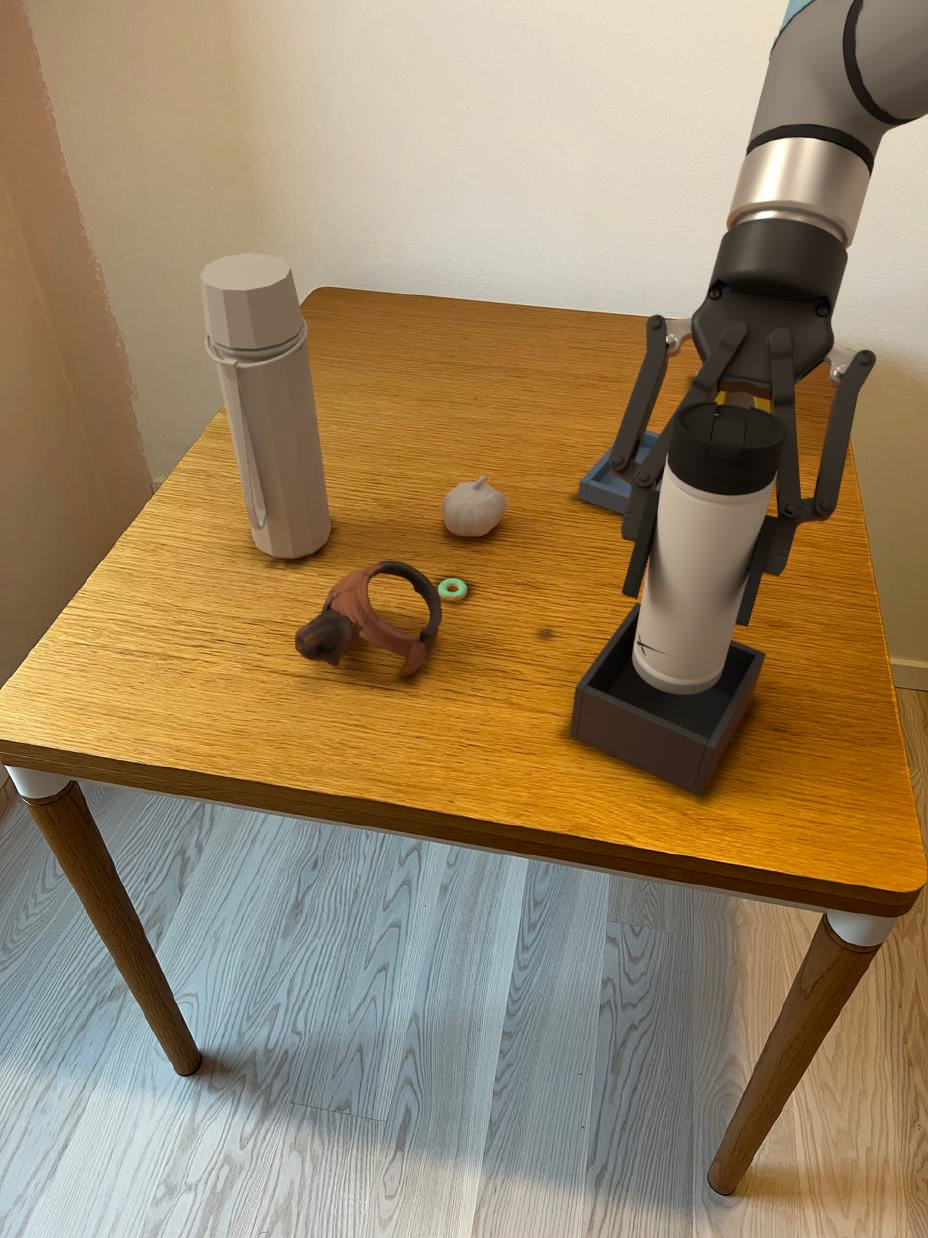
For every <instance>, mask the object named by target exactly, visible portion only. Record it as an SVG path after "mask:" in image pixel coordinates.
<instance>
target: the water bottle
mask: <svg viewBox="0 0 928 1238" xmlns="http://www.w3.org/2000/svg"><path fill="white" fill-rule="evenodd" d="M199 277H200V287H201V297H202V305H203V306H202V307H203V314H204V315H203V316H204V325H205V331H206V333H205V337H204V340H203V341H204V343H203V344H204V346H205V347H204V348H205V350H206V353H207V354H208V356H210V358H211V359H212V360H213V361H214V362H215V365H216V370H217V374H218V379H219V383H220V389H221V393H222V398H223V403H224V408H225V412H226V416H227V422H228V426H229V431H230V436H231V441H232V446H233V450H234V455H235V460H236V465H237V470H238V474H239V479H240V485H241V489H242V494H243V499H244V505H245V510H246V513H247V517H248V522H249V527H250V531H251V537H252V539H253V541H254V543H255V545H256V547H257V549H258V550H259V551H261V552H263V553H264V554H267V555H270V556H271V557H274V558H276V559H289V560H296V559H300V558H303V557H307V556H309V555H310V556H311V555H313V554H314V553H315V552H317V551H318V550H320V548H322V547H323V546H324V545H325V544H326V543H328V540H329V537H330V534H331V531H332V523H331V514H330V508H329V501H328V500H329V499H328V492H327V486H326V485H327V483H326V477H325V470H324V462H323V455H322V447H321V439H320V432H319V425H318V424H319V423H318V416H317V408H316V401H315V394H314V385H313V378H312V370H311V365H310V364H311V363H310V355H309V348H308V341H307V336H308V330H309V326H308V324H307V321H306V319H305V317H304V316H303V313H302V309H301V305H300V301H299V297H298V293H297V289H296V285H295V281H294V276H293V271H292V268H291V266H290V265H289V263H288V262H287V260H285V258H282V257H279V256H276V255H272V254H270V253H253V252H252V253H251V252H245V253H240V254H233V255H228V256H227V255H226V256H222V257H220V258H219V259H217V260H215V261H211V262H210V263H208V264H206V265H205V267H204V268H203V270H201V272H200V274H199ZM210 340H211V342H212V348H211V344H210Z"/></svg>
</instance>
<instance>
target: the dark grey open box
mask: <svg viewBox="0 0 928 1238" xmlns="http://www.w3.org/2000/svg"><path fill="white" fill-rule="evenodd" d="M640 607H641V602H640V603H639V602H636V603H635V604H634V605H633V607H632V608H631V609H630V611H629V612H628V614H627V615H626V616H625V618H624V619H623V621H622V622H621V623H620V624H619V626H618V627H617V629H616V630H615V632H614V633H613V635H612V636H611V637H610V638H609V640H608V641H607V642H606V644H605V645H604V646H603V648H602V650H601V651H600V652H599V654H598V655H597V657H595V659H594V661H593V662H592V663H591V664H590V666H589V668H588V669H587V670H586V672H584V674H583V676H582V677H581V679H580V680H579V682H578V683H577V684H576V686H575V690H574V698H573V705H572V714H571V722H570V730H569V736H570V737H572V738H574V739H576V740H579V741H581V742H582V743H585V744H586V745H589V746H591V747H594V748H595V749H597V750H599V751H602V752H604V753H606V754H607V755H611V756H612V757H614V758H617V759H619V760H621V761H623V762H625V763H626V764H630V765H632V766H634V767H636V768H638V769H641V770H642V771H643V772H647V773H649V774H651V775H653V776H655V777H658V778H660V779H662V780H664V781H666V782H668V783H670V784H672V785H674V786H677V787H679V788H681V789H683V790H684V791H687V792H689V793H691V794H693V795H696V796H698V797H701V796H702V795H703V793H704V791H705V789H706V787H707V785H708V783H709V782H710V779H711V778H712V776H713V774H714V772H715V770H716V768H717V766H718V764H719V763H720V761H721V758H722V757H723V755H724V753H725V751H726V749H727V747H728V745H729V744H730V742H731V740H732V738H733V736H734V734H735V732H736V730H737V729H738V727H739V725H740V723H741V721H742V720H743V717H744V715H745V713H746V712H747V709H748V708H749V706H750V704H751V702H752V699H753V696H754V692H755V689H756V686H757V684H758V680H759V677H760V675H761V671H762V668H763V666H764V663H765V660H766V656H767V653H766V652H764V651H761V650H758V649H756V648H753V647H751V646H748V645H746V644H743V643H741V642H738V641H737V640H733V639H731V642H730V645H729V649H728V652H727V656H726V660H725V663H724V667H723V671H722V674H721V677H720V678H719V680H718V681H717V683H715V684H714V685H713V686H712V687H711V688H709V689H707V690H705V691H703V692H700V693H696V694H690V695H679V694H672V693H668V692H664V691H661V690H659V689H657V688H655V687H653V686H651V685H650V684H648V683H647V682H646V681H645V680H644V679H643V678H641V676H640V675H639V674H638V672H637V671H636V669H635V667H634V665H633V660H632V654H633V647H634V642H635V637H636V630H637V624H638V619H639V613H640Z"/></svg>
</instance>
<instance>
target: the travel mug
mask: <svg viewBox="0 0 928 1238" xmlns="http://www.w3.org/2000/svg"><path fill="white" fill-rule="evenodd" d="M717 402H718V401H703V402H697V403H693V404H689V405H687V406H684V407H682V408H681V409H680V410H679V411H677V413H676V415H675V417H674V423H673V428H672V434H671V440H670V447H669V451H668V454H667V457H666V466H665V469H664V474H663V480H662V486H661V492H660V498H659V505H658V511H657V517H656V522H655V528H654V534H653V540H652V545H651V551H650V555H649V559H648V562H647V566H646V571H645V579H644V585H643V589H642V596H641V602H640V604H641V607H640V613H639V619H638V624H637V630H636V637H635V642H634V647H633V654H632V660H633V665H634V667H635V669H636V671H637V672H638V674H639V675H640V676H641V678H643V679H644V680H645V681H646V682H647V683H648V684H650V685H651V686H653V687H655V688H657V689H659V690H661V691H664V692H668V693H672V694H679V695H690V694H696V693H700V692H703V691H705V690H707V689H709V688H711V687H712V686H713V685H714V684H715V683H717V681H718V680H719V678H720V677H721V674H722V671H723V667H724V663H725V660H726V656H727V652H728V649H729V645H730V642H731V640H732V638H733V634H734V630H735V627H736V624H735V622H736V618H737V615H738V611H739V607H740V604H741V600H742V596H743V593H744V589H745V586H746V582H747V578H748V575H749V571H750V567H751V564H752V560H753V557H754V553H755V549H756V546H757V542H758V539H759V535H760V531H761V528H762V524H763V521H764V518H765V515H767V511H768V509H769V504H770V500H771V496H772V495H773V494H772V493H773V489H774V487H775V485H774V484H775V479H776V476H777V468H778V463H779V461H780V457H781V454H782V450H783V446H784V443H785V439H786V435H787V429H786V427H785V425H784V423H783V422H782V421H781V420H780V419H778V418H777V417H776V416H774V415H772V414H771V413H769V412H767V411H765V410H762V409H758V408H755V407H752V406H750V408H749V409H746V408H744V407H739V406H734V405H724V404H721V405H717Z"/></svg>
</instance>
